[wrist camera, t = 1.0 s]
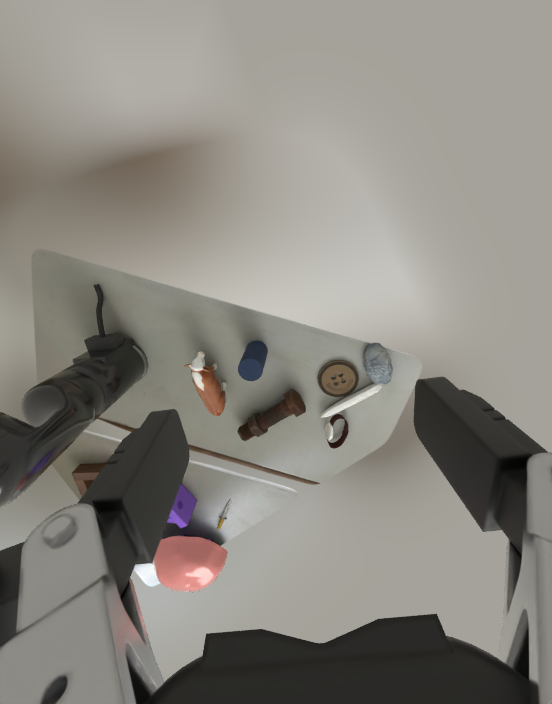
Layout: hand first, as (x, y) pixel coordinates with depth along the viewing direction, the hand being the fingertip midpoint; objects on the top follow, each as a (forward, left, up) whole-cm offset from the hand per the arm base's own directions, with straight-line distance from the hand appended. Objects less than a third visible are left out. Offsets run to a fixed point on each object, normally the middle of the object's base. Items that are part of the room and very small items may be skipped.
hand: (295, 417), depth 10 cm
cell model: (+70, -33, -35) cm, 85 cm away
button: (+22, +6, -46) cm, 51 cm away
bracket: (+53, -36, -46) cm, 79 cm away
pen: (+26, +9, -45) cm, 53 cm away
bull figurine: (+18, -19, -46) cm, 53 cm away
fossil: (+18, +16, -42) cm, 49 cm away
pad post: (+14, -9, -45) cm, 49 cm away
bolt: (+29, -8, -46) cm, 54 cm away
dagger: (+57, -24, -45) cm, 77 cm away
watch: (+33, +6, -46) cm, 57 cm away
